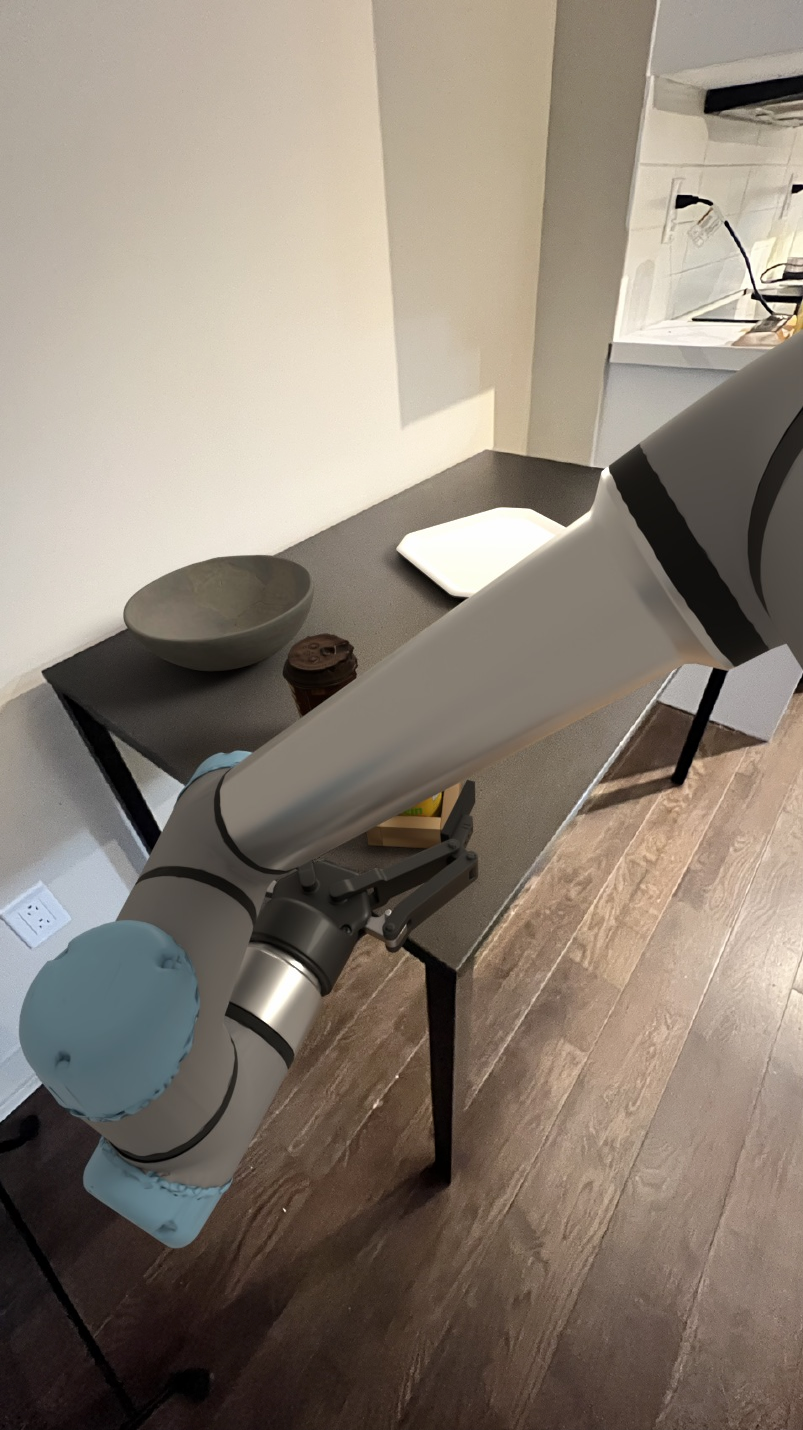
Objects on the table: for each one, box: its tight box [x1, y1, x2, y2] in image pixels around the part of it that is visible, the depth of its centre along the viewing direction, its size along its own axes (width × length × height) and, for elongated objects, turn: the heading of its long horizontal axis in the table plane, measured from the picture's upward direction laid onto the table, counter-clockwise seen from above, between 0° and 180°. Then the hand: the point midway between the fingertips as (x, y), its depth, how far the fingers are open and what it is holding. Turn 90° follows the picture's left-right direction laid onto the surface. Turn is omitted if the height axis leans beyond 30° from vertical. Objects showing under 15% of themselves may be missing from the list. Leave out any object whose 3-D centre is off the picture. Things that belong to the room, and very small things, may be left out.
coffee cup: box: [282, 632, 359, 719], centre depth 71 cm, size 9×8×13 cm
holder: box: [365, 781, 463, 849], centre depth 64 cm, size 9×9×3 cm
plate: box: [395, 507, 567, 600], centre depth 108 cm, size 29×29×2 cm
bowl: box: [122, 554, 315, 672], centre depth 90 cm, size 26×26×10 cm
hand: (403, 772), depth 59 cm, fingers open, 13 cm apart
